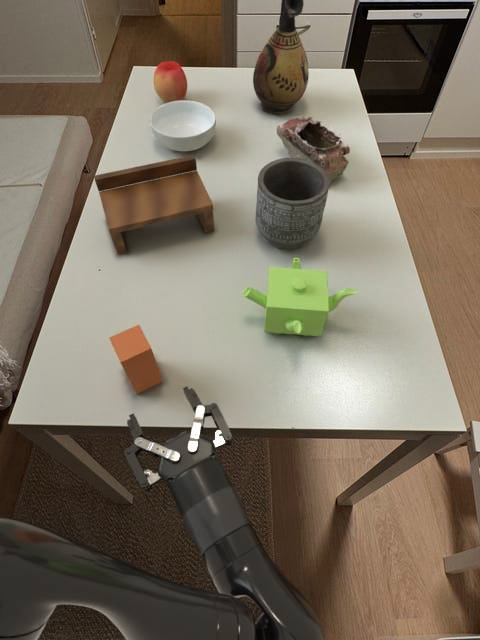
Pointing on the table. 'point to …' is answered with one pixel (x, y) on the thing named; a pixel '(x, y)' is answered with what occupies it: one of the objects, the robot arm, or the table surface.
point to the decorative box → (315, 144)
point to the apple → (170, 81)
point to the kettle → (296, 300)
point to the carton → (136, 358)
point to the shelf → (153, 196)
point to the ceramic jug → (282, 64)
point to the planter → (291, 201)
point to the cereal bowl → (183, 125)
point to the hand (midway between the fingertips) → (159, 402)
